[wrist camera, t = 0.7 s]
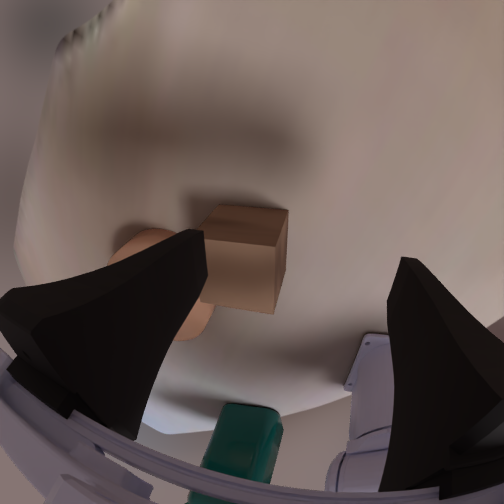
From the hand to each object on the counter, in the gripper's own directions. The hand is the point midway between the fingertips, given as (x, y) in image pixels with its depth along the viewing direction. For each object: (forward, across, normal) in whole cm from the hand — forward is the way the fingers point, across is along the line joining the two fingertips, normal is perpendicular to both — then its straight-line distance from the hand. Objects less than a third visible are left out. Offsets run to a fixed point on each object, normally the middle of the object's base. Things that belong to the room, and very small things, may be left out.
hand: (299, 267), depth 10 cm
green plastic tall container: (+10, +5, +35) cm, 36 cm away
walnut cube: (+10, +4, +5) cm, 12 cm away
